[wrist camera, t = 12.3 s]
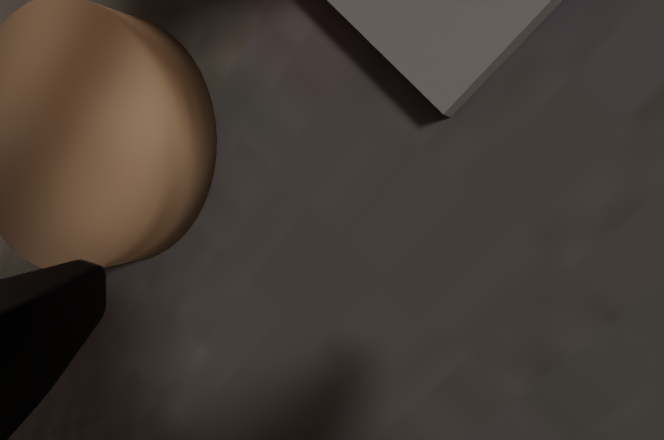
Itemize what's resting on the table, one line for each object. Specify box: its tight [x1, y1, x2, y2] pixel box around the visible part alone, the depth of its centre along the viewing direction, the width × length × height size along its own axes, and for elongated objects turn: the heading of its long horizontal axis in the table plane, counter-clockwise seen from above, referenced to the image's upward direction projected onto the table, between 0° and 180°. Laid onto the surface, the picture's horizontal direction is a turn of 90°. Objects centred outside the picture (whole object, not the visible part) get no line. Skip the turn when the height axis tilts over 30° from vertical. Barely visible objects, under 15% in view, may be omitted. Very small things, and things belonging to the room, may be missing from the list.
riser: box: [0, 0, 217, 269], centre depth 21 cm, size 10×10×3 cm
